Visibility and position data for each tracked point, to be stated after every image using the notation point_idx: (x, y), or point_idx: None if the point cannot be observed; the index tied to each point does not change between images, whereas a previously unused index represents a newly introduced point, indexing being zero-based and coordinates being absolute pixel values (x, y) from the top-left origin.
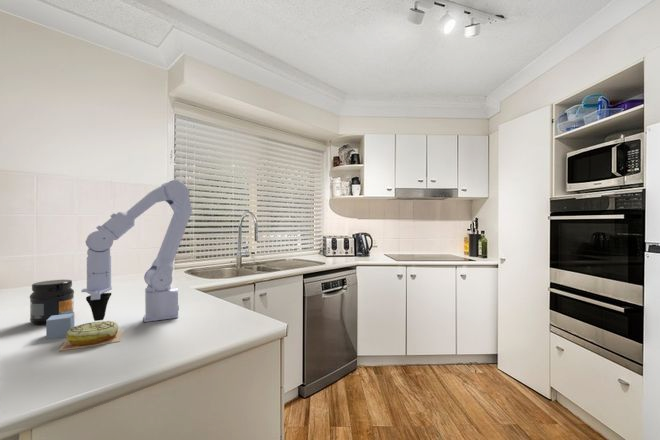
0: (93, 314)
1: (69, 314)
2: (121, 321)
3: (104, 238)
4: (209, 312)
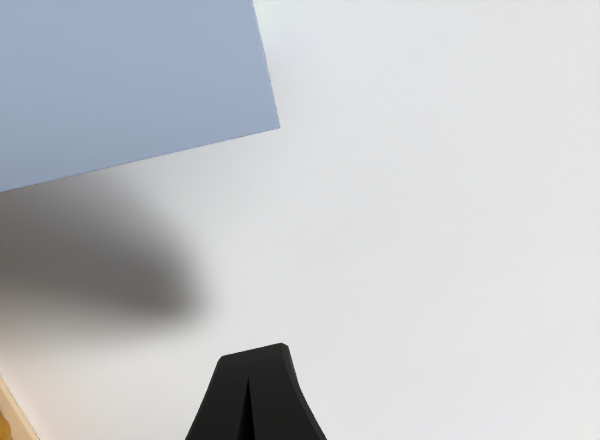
0: (188, 436)
1: (154, 71)
2: (455, 419)
3: None
4: None
